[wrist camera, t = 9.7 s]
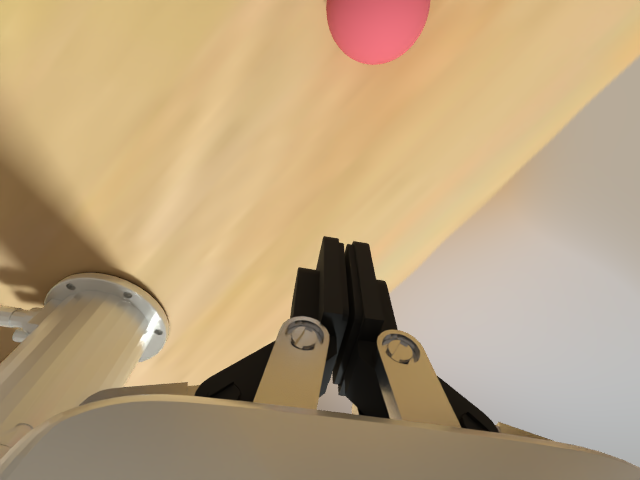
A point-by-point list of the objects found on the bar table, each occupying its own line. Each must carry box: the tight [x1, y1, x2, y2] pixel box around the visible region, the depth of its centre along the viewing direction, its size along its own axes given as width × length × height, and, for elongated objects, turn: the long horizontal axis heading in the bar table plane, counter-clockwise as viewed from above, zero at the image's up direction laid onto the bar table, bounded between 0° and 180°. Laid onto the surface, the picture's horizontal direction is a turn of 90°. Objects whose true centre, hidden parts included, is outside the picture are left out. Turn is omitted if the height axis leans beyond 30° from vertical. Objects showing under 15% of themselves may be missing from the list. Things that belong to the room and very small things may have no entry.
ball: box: [326, 0, 430, 65], centre depth 20 cm, size 6×6×6 cm
